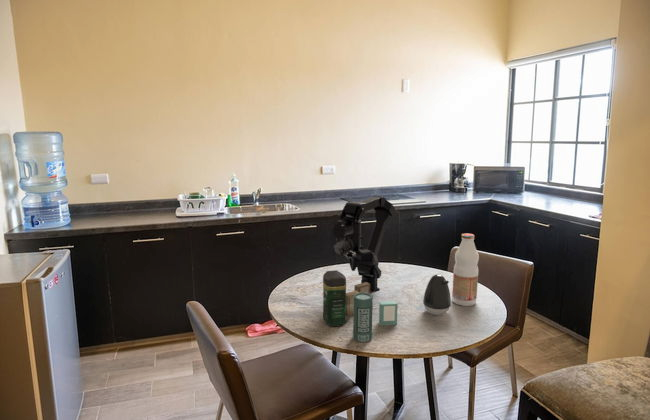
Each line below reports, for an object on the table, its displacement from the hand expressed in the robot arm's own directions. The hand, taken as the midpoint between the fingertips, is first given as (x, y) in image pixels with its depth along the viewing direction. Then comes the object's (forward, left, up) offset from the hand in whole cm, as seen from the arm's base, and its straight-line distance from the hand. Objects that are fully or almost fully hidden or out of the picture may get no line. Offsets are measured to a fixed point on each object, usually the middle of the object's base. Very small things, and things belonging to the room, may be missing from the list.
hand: (353, 270), depth 182 cm
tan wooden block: (+9, +11, -12) cm, 19 cm away
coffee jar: (+18, +13, -12) cm, 26 cm away
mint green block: (+3, +25, -12) cm, 28 cm away
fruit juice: (-35, +28, -12) cm, 46 cm away
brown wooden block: (0, +6, -12) cm, 13 cm away
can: (+18, +29, -12) cm, 36 cm away
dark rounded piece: (-18, +29, -12) cm, 36 cm away
